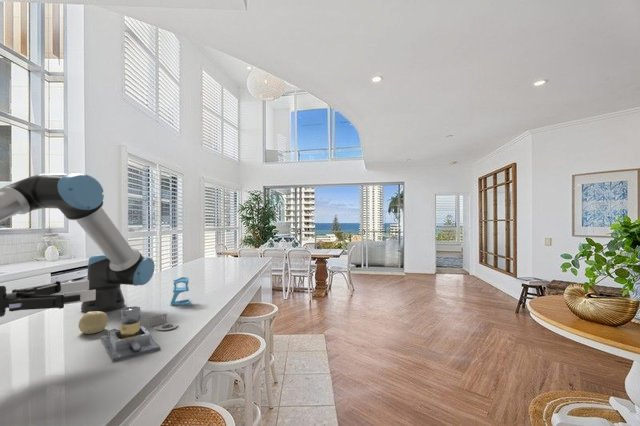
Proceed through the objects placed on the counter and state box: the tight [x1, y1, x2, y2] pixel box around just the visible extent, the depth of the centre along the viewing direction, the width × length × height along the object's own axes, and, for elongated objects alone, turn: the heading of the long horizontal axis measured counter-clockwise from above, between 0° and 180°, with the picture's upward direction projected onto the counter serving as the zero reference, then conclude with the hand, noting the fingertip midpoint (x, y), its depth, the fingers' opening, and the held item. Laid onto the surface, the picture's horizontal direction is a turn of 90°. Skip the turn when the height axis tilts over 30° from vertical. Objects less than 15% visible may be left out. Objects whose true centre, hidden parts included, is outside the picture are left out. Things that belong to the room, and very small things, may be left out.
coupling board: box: [100, 325, 161, 363], centre depth 94 cm, size 20×12×4 cm, turn 44°
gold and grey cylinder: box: [120, 306, 141, 339], centre depth 94 cm, size 5×5×10 cm
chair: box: [169, 276, 191, 306], centre depth 138 cm, size 8×8×12 cm
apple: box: [78, 311, 108, 335], centre depth 103 cm, size 8×8×8 cm
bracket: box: [148, 313, 178, 331], centre depth 109 cm, size 7×10×4 cm, turn 57°
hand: (92, 289), depth 87 cm, fingers open, 13 cm apart
